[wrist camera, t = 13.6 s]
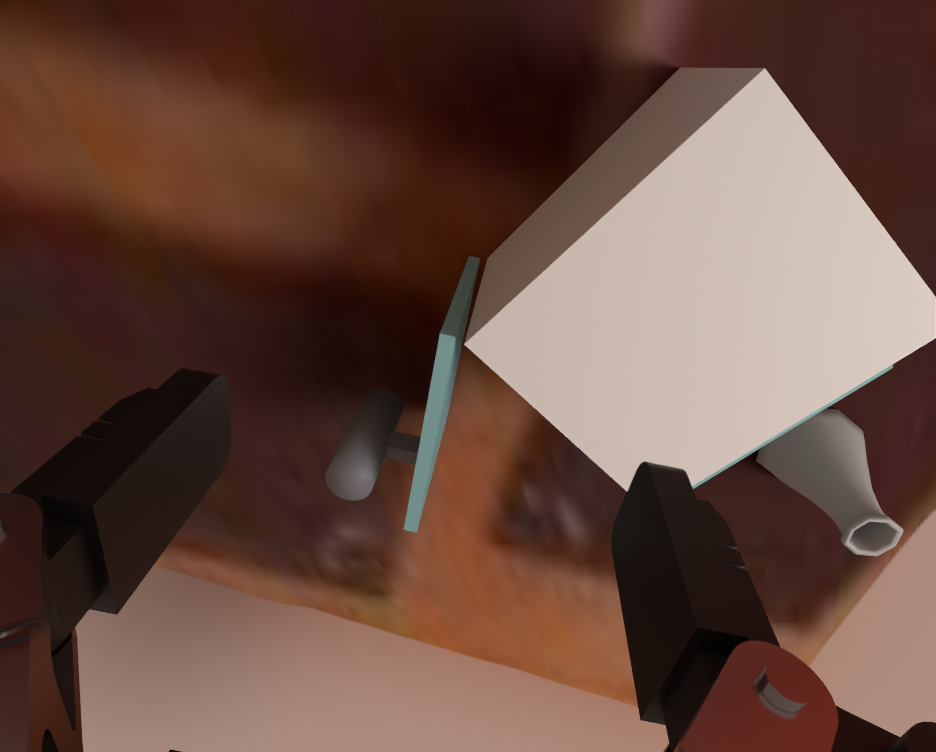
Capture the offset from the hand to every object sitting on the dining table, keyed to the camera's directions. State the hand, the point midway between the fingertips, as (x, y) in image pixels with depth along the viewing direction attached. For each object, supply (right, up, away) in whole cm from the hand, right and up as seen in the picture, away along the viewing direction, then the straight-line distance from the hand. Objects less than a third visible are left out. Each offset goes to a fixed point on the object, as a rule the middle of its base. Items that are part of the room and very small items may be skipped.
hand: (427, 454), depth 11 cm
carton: (+13, +10, +27) cm, 31 cm away
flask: (+27, -4, +33) cm, 43 cm away
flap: (-3, +5, +31) cm, 32 cm away
